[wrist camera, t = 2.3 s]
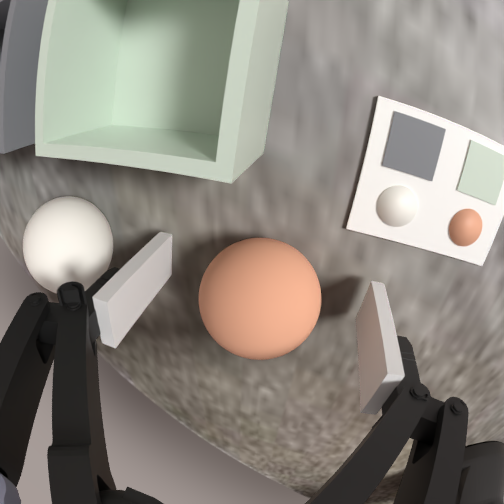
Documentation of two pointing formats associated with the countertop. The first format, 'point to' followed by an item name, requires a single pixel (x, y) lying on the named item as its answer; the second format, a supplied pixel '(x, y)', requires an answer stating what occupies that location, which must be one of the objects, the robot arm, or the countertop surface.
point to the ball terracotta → (259, 298)
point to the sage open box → (159, 83)
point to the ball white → (67, 243)
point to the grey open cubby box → (19, 70)
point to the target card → (429, 184)
